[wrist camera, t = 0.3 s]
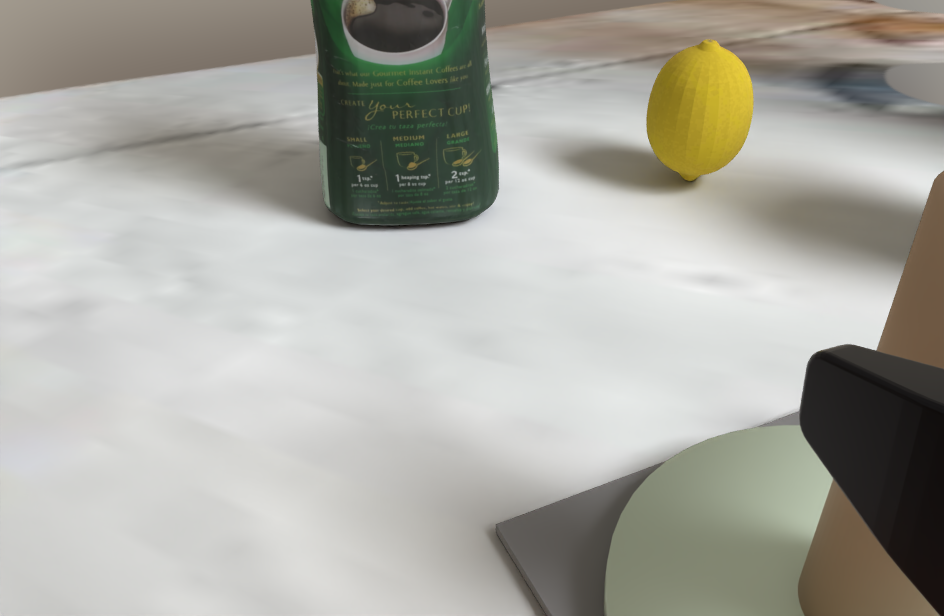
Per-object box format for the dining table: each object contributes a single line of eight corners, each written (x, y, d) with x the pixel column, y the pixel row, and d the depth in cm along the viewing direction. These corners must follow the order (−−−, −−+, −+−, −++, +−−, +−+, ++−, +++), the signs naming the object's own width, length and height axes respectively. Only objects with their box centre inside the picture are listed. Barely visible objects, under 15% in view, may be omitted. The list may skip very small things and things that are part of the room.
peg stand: (1302, 752, 22) (1777, 311, 14) (860, 1070, 17) (1201, 673, 9) (862, 399, 33) (985, 38, 25) (516, 530, 28) (529, 132, 20)
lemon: (619, 174, 50) (633, 36, 45) (687, 150, 52) (707, 16, 47) (690, 213, 46) (713, 67, 41) (760, 185, 48) (789, 44, 44)
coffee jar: (494, 163, 51) (496, -200, 40) (502, 231, 45) (508, -179, 34) (330, 166, 51) (288, -197, 40) (315, 236, 44) (259, -175, 34)
